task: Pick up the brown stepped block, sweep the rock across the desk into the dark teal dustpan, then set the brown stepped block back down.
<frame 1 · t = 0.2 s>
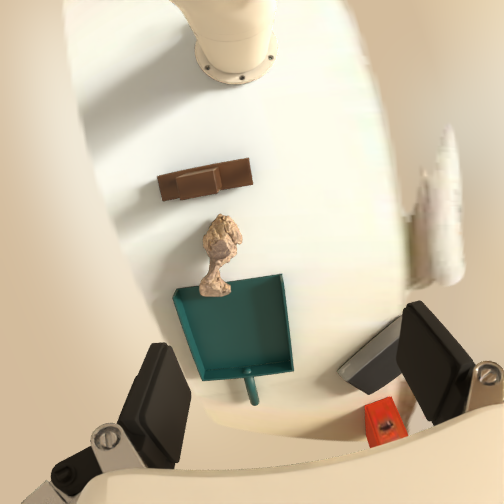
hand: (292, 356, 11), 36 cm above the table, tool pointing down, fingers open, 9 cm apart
hard drive: (382, 353, 57), on the table
file binder: (377, 416, 66), on the table
rock: (221, 255, 48), on the table, touching dustpan
dustpan: (238, 328, 53), on the table
brown stepped block: (206, 177, 44), on the table
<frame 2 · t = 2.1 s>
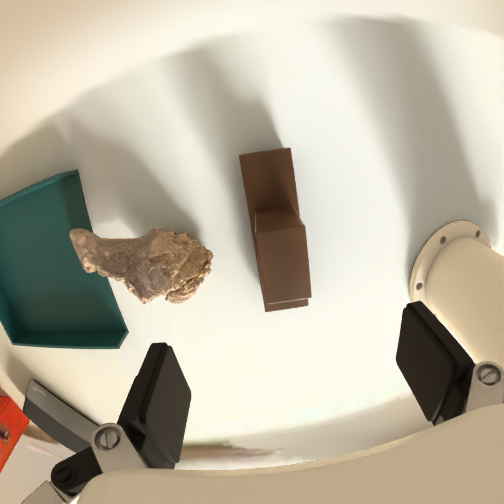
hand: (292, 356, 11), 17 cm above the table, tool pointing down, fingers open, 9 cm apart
hard drive: (69, 419, 39), on the table
file binder: (5, 405, 42), on the table
rock: (141, 249, 27), on the table, touching dustpan
dustpan: (39, 268, 28), on the table
brown stepped block: (275, 228, 26), on the table
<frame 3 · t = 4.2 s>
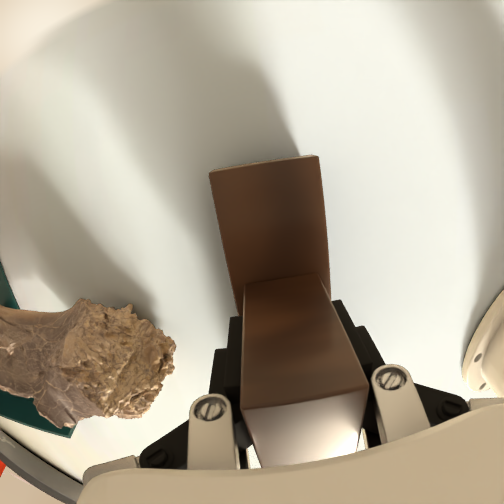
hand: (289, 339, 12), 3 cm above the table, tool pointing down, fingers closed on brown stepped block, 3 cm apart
hard drive: (45, 467, 27), on the table
rock: (73, 322, 15), on the table, touching dustpan
brown stepped block: (282, 300, 15), on the table, touching gripper
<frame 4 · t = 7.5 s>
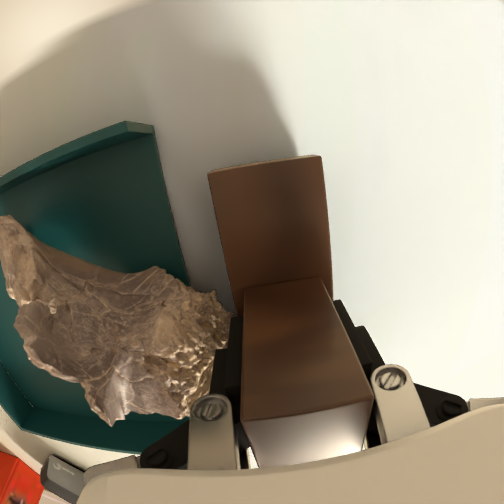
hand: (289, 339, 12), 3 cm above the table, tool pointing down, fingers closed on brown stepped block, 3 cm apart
hard drive: (105, 490, 26), on the table
file binder: (11, 461, 28), on the table
rock: (120, 285, 14), resting on dustpan, touching brown stepped block, gripper
dustpan: (55, 327, 15), on the table
brown stepped block: (283, 303, 14), on the table, touching rock, gripper
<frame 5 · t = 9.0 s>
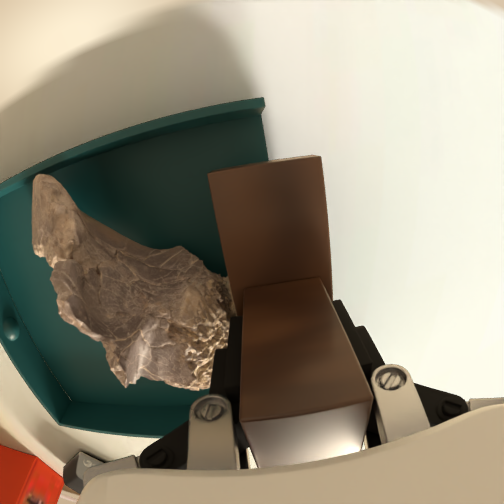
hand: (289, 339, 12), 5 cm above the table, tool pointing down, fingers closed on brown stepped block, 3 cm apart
hard drive: (133, 486, 28), on the table
file binder: (27, 460, 29), on the table
rock: (139, 260, 15), resting on dustpan
dustpan: (121, 308, 16), on the table
brown stepped block: (282, 304, 14), point 2 cm above the table, touching gripper
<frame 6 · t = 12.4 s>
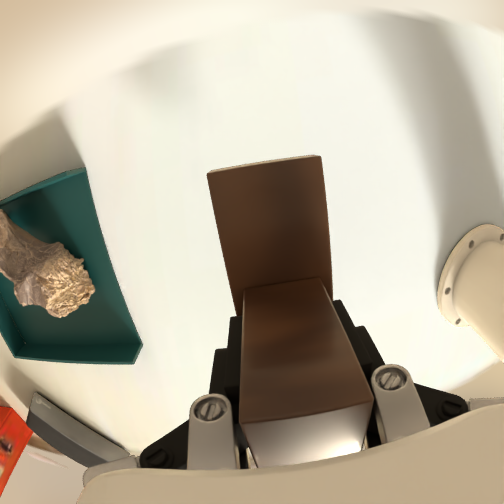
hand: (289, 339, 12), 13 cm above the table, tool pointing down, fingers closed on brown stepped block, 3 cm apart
hard drive: (75, 431, 37), on the table
file binder: (6, 415, 39), on the table
rock: (47, 249, 24), resting on dustpan
dustpan: (42, 277, 25), on the table
brown stepped block: (283, 304, 14), point 10 cm above the table, touching gripper
when the fingers open (3 cm above the table, at t = 15.0 s): brown stepped block stays where it is, on the table.
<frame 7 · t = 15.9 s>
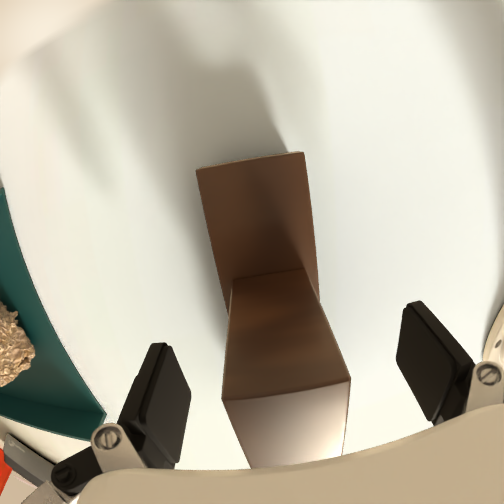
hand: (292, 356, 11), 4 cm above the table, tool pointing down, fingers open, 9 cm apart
hard drive: (55, 471, 27), on the table
brown stepped block: (272, 296, 15), on the table
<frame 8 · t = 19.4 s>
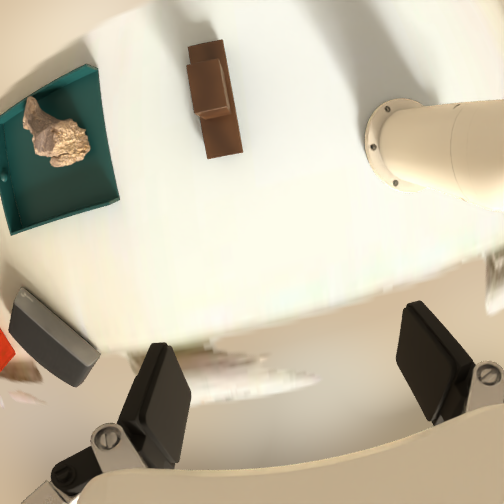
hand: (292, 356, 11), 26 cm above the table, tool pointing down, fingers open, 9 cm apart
hard drive: (53, 336, 43), on the table
rock: (59, 130, 31), resting on dustpan
dustpan: (50, 154, 32), on the table
brown stepped block: (216, 99, 30), on the table
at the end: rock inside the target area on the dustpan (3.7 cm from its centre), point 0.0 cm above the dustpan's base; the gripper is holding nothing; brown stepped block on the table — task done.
